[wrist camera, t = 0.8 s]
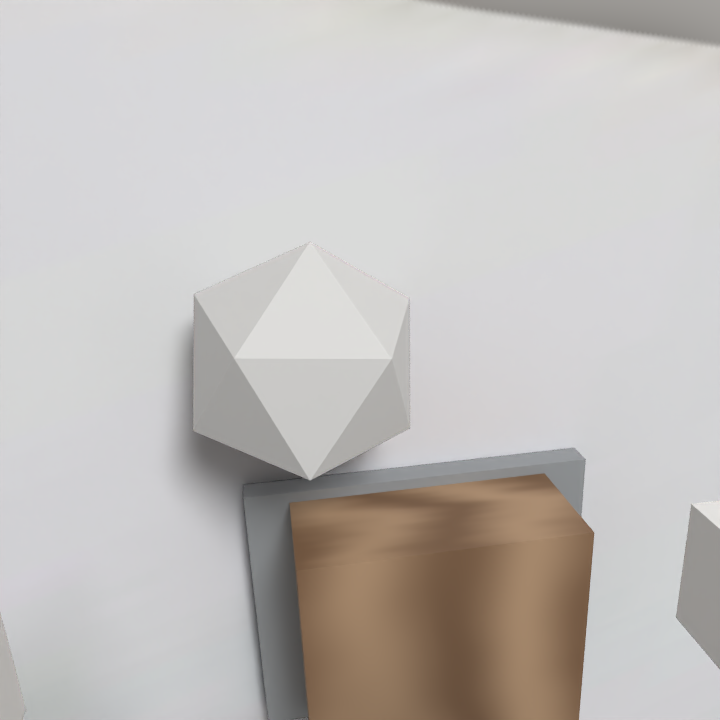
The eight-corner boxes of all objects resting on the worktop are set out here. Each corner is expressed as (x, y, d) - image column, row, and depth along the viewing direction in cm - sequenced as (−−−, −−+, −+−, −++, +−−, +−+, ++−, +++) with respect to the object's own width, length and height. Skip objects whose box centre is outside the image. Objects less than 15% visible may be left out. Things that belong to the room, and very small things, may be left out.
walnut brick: (307, 709, 35) (316, 800, 30) (289, 502, 31) (296, 570, 26) (534, 674, 36) (575, 755, 32) (544, 473, 32) (594, 532, 28)
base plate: (268, 704, 36) (268, 723, 35) (243, 484, 32) (243, 498, 30) (559, 660, 38) (569, 676, 37) (574, 447, 34) (585, 459, 33)
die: (157, 280, 29) (135, 497, 23) (287, 152, 24) (297, 391, 19) (308, 346, 34) (318, 538, 28) (441, 252, 29) (483, 463, 24)
